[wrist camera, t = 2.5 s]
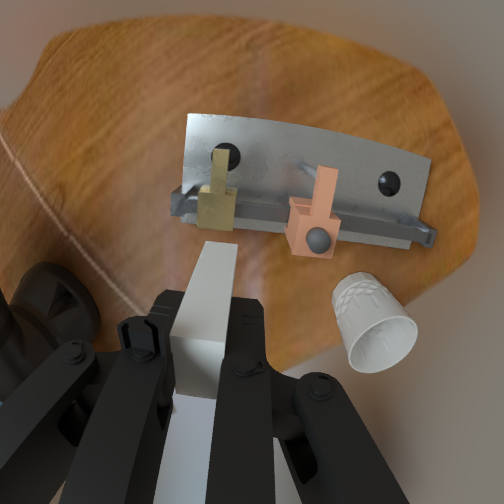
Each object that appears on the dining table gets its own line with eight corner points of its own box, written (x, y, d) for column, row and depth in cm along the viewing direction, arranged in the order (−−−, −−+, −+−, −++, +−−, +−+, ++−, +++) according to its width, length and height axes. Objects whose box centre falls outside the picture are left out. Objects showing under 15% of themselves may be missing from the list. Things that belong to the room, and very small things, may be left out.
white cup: (347, 257, 31) (380, 307, 22) (394, 279, 32) (430, 326, 23) (315, 309, 34) (333, 367, 25) (362, 324, 35) (386, 377, 26)
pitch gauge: (184, 218, 29) (167, 241, 23) (191, 114, 24) (173, 109, 18) (403, 244, 30) (430, 269, 24) (424, 157, 26) (459, 167, 20)
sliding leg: (280, 220, 27) (294, 262, 19) (291, 154, 24) (311, 165, 16) (310, 224, 27) (334, 266, 19) (321, 159, 25) (355, 174, 16)
